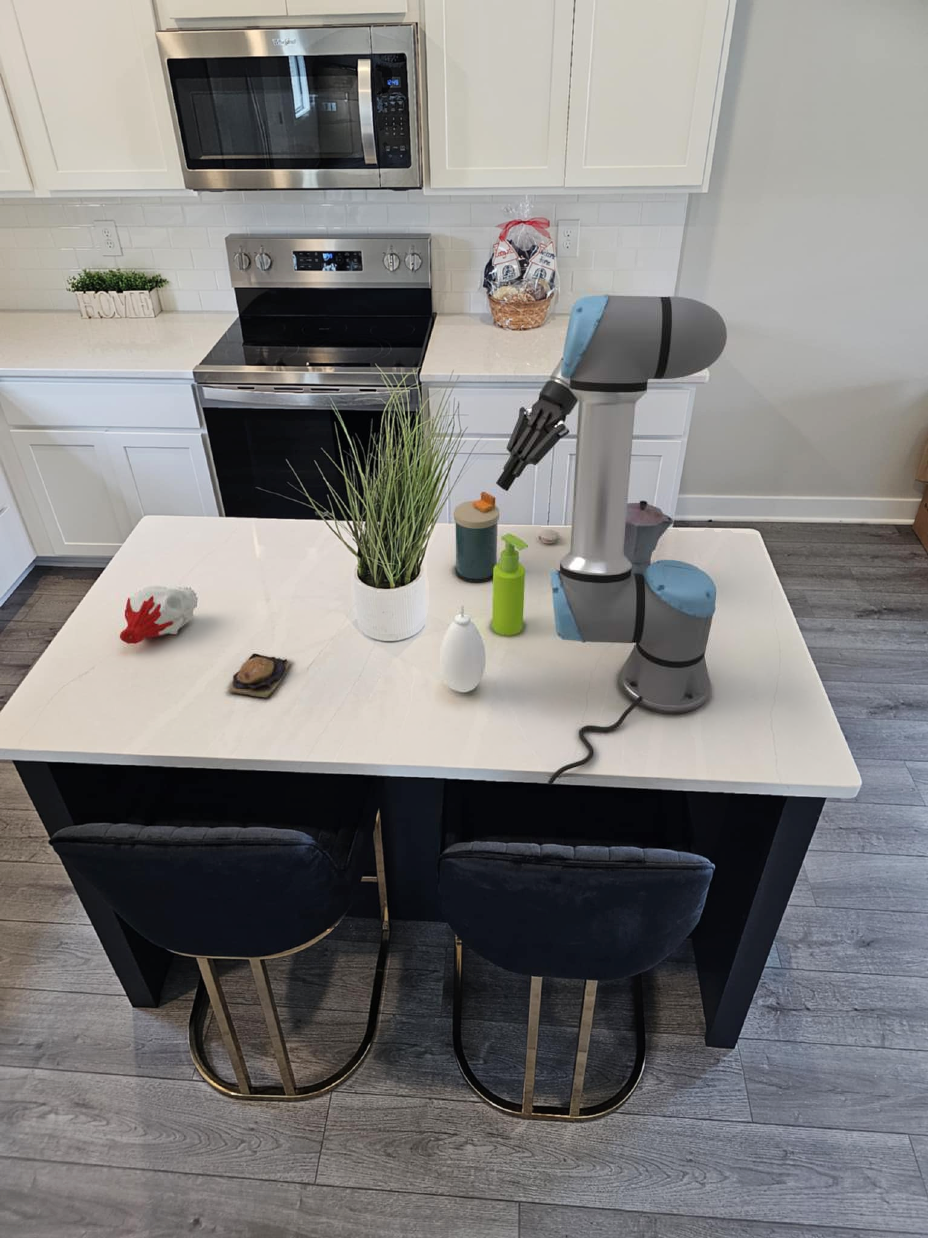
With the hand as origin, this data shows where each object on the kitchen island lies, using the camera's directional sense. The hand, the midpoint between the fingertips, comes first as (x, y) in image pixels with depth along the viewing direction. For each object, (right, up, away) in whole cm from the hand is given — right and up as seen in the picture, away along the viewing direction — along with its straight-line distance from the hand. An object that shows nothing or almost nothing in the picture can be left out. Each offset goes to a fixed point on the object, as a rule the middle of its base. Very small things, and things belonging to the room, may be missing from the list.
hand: (501, 487), depth 174 cm
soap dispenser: (+1, -29, -10) cm, 31 cm away
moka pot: (+26, -21, +1) cm, 33 cm away
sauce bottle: (-8, -39, -25) cm, 47 cm away
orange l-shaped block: (-4, -4, -1) cm, 6 cm away
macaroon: (+12, -9, +17) cm, 23 cm away
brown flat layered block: (-44, -38, -22) cm, 62 cm away
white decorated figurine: (-67, -30, -11) cm, 74 cm away
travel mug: (-5, -17, +7) cm, 19 cm away
